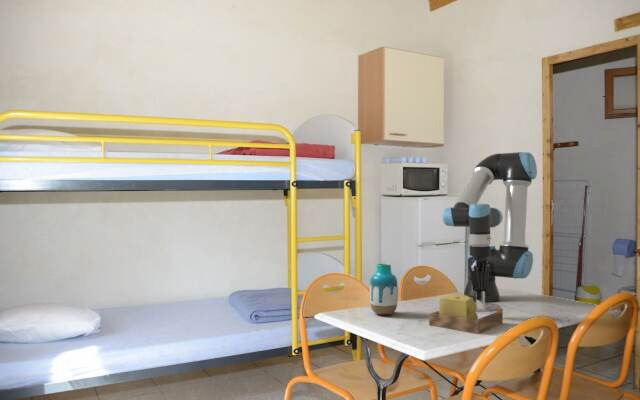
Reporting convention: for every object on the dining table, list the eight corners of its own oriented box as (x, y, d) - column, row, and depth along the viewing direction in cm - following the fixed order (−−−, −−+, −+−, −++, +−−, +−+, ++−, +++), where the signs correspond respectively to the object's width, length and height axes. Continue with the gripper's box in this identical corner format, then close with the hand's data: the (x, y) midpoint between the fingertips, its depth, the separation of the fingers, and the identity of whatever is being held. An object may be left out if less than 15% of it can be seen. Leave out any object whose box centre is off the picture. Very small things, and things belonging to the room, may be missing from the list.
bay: (429, 325, 187) (429, 310, 187) (456, 315, 201) (456, 302, 201) (477, 333, 175) (477, 317, 175) (502, 323, 189) (502, 308, 189)
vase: (378, 310, 211) (378, 262, 211) (402, 313, 205) (402, 264, 205) (364, 315, 203) (364, 264, 203) (389, 318, 197) (389, 266, 197)
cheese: (477, 323, 189) (477, 295, 189) (466, 330, 180) (466, 300, 180) (449, 320, 195) (449, 292, 195) (437, 325, 186) (437, 297, 186)
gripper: (481, 247, 191) (482, 313, 191) (497, 244, 200) (497, 306, 201) (462, 246, 196) (463, 310, 196) (478, 243, 205) (479, 304, 206)
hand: (480, 308), depth 199 cm, fingers closed
